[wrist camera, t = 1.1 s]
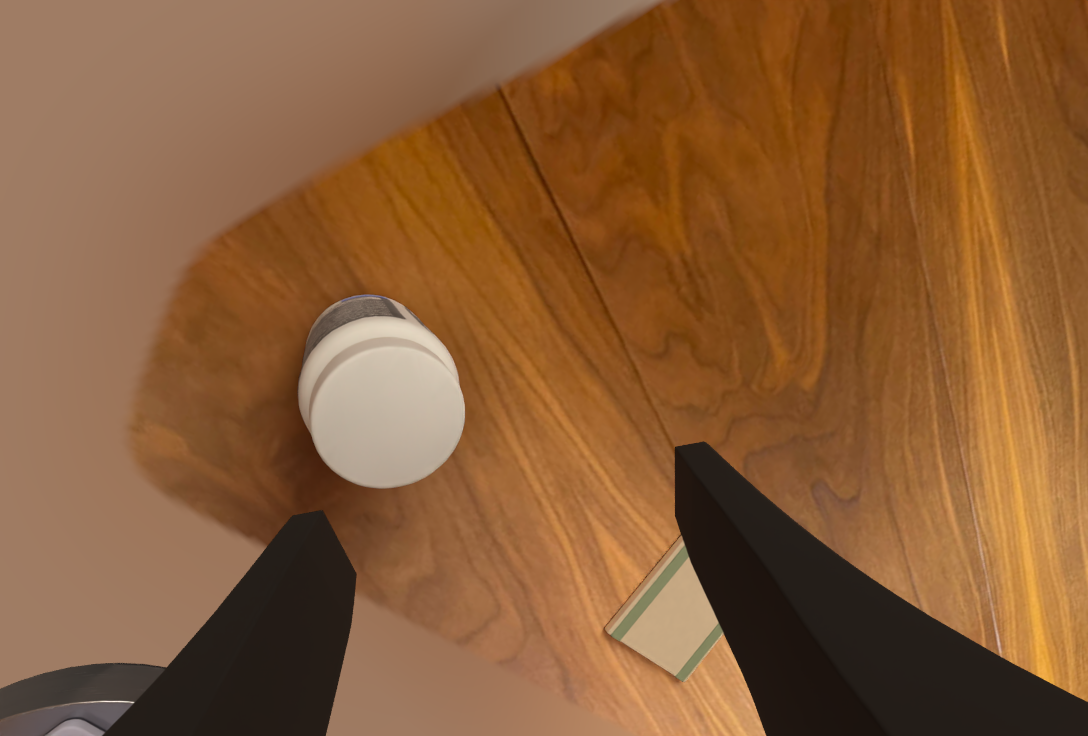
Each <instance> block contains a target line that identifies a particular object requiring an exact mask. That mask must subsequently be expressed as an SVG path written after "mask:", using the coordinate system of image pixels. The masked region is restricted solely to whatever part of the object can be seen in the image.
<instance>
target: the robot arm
mask: <svg viewBox="0 0 1088 736" xmlns="http://www.w3.org/2000/svg"><path fill="white" fill-rule="evenodd" d="M675 517H676V520H677V523H678V526H679V529H680V532H681V535H682V538H683V541H684V544H685V547H686V550H687V553H688V556H689V559H690V562H691V564H692V566H693V568H694V571H695V573H696V575H697V577H698V579H699V582H700V584H701V586H702V588H703V590H704V592H705V595H706V597H707V599H708V601H709V603H710V605H711V607H712V610H713V612H714V614H715V616H716V618H717V620H718V622H719V624H720V627H721V629H722V631H723V633H724V635H725V637H726V639H727V642H728V644H729V646H730V648H731V650H732V652H733V654H734V657H735V659H736V661H737V663H738V665H739V667H740V669H741V672H742V674H743V676H744V679H745V681H746V683H747V686H748V688H749V691H750V693H751V695H752V698H753V701H754V703H755V706H756V709H757V712H758V714H759V717H760V720H761V722H762V725H763V728H764V731H765V733H766V736H1088V702H1086V701H1084V700H1082V699H1080V698H1078V697H1076V696H1074V695H1072V694H1070V693H1068V692H1066V691H1064V690H1062V689H1061V688H1059V687H1057V686H1055V685H1053V684H1051V683H1049V682H1047V681H1045V680H1043V679H1041V678H1040V677H1038V676H1036V675H1034V674H1032V673H1030V672H1028V671H1026V670H1024V669H1022V668H1020V667H1018V666H1017V665H1015V664H1013V663H1011V662H1009V661H1007V660H1005V659H1004V658H1002V657H1000V656H998V655H996V654H995V653H993V652H991V651H990V650H988V649H986V648H984V647H983V646H981V645H979V644H977V643H976V642H974V641H972V640H970V639H969V638H967V637H965V636H964V635H962V634H960V633H958V632H957V631H955V630H953V629H951V628H950V627H948V626H946V625H944V624H943V623H941V622H939V621H938V620H936V619H934V618H932V617H931V616H929V615H927V614H926V613H924V612H923V611H921V610H919V609H918V608H916V607H915V606H913V605H912V604H910V603H908V602H907V601H905V600H904V599H902V598H900V597H899V596H897V595H896V594H894V593H893V592H891V591H890V590H888V589H887V588H885V587H884V586H882V585H881V584H879V583H878V582H876V581H875V580H873V579H872V578H870V577H869V576H867V575H866V574H864V573H863V572H862V571H860V570H859V569H857V568H856V567H855V566H853V565H852V564H850V563H849V562H848V561H846V560H845V559H843V558H842V557H841V556H839V555H838V554H837V553H835V552H834V551H833V550H831V549H830V548H829V547H827V546H826V545H825V544H823V543H822V542H821V541H819V540H818V539H817V538H816V537H814V536H813V535H812V534H810V533H809V532H808V531H807V530H805V529H804V528H803V527H802V526H800V525H799V524H798V523H797V522H795V521H794V520H793V519H792V518H790V517H789V516H788V515H787V514H786V513H784V512H783V511H782V510H781V509H780V508H779V507H777V506H776V505H775V504H774V503H773V502H771V501H770V500H769V499H768V498H767V497H765V496H764V495H763V494H762V493H761V492H760V491H759V490H757V489H756V488H755V487H754V486H753V485H752V484H751V483H750V482H748V481H747V480H746V479H745V478H744V477H743V476H742V475H741V474H740V473H739V472H737V471H736V470H735V469H734V468H733V467H732V466H731V465H730V464H729V463H728V462H727V461H726V460H725V459H723V458H722V457H721V456H720V455H719V454H718V453H717V452H716V451H715V450H714V449H713V448H712V447H711V446H710V445H709V444H707V443H706V442H699V443H694V444H688V445H682V446H677V447H675ZM356 575H357V574H356V572H355V570H354V568H353V566H352V564H351V562H350V560H349V559H348V557H347V555H346V553H345V551H344V549H343V547H342V545H341V544H340V542H339V540H338V538H337V536H336V534H335V532H334V531H333V529H332V527H331V525H330V523H329V521H328V519H327V517H326V516H325V514H324V512H323V510H320V511H315V512H309V513H304V514H298V515H293V516H292V517H291V518H290V519H289V520H288V522H287V523H286V524H285V525H284V526H283V528H282V529H281V530H280V531H279V533H278V534H277V535H276V536H275V538H274V539H273V540H272V541H271V543H270V544H269V545H268V546H267V548H266V549H265V550H264V551H263V553H262V554H261V555H260V557H259V558H258V559H257V560H256V562H255V563H254V564H253V565H252V567H251V568H250V570H249V571H248V572H247V573H246V575H245V576H244V577H243V578H242V579H241V581H240V582H239V583H238V584H237V585H236V587H235V588H234V589H233V590H232V591H231V593H230V594H229V595H228V596H227V598H226V599H225V600H224V601H223V603H222V604H221V605H220V606H219V608H218V609H217V610H216V611H215V612H214V614H213V615H212V616H211V617H210V618H209V620H208V621H207V622H206V623H205V624H204V625H203V627H202V628H201V629H200V630H199V631H198V632H197V633H196V635H195V636H194V637H193V638H192V639H191V640H190V641H189V643H188V644H187V645H186V646H185V648H183V649H182V651H181V652H180V653H179V654H178V655H177V656H176V658H175V659H174V660H173V661H172V662H171V663H170V664H169V666H168V667H167V668H166V669H165V670H164V671H163V672H162V673H161V675H160V676H159V677H158V678H157V679H156V680H155V681H154V682H153V683H152V684H151V685H150V687H149V688H148V689H147V690H146V691H145V692H144V693H143V694H142V695H141V696H140V697H139V698H138V699H137V700H136V701H135V702H134V703H133V705H132V706H131V707H130V708H129V709H128V710H127V711H126V712H125V713H124V714H123V715H122V716H121V717H120V718H119V719H118V720H117V721H116V722H115V723H114V724H113V725H112V726H111V727H110V728H109V729H108V730H107V731H106V732H103V731H102V730H100V729H98V728H96V727H94V726H93V725H91V724H89V723H87V722H86V721H83V720H80V719H72V720H68V721H65V722H63V723H61V724H60V725H58V726H57V727H56V728H54V729H53V730H52V731H50V732H49V733H48V734H46V735H45V736H326V732H327V728H328V724H329V719H330V715H331V711H332V707H333V702H334V698H335V694H336V690H337V685H338V681H339V677H340V672H341V668H342V664H343V660H344V655H345V650H346V646H347V642H348V638H349V633H350V628H351V623H352V614H353V606H354V597H355V586H356Z"/></svg>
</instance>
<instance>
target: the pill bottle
mask: <svg viewBox="0 0 1088 736" xmlns="http://www.w3.org/2000/svg"><path fill="white" fill-rule="evenodd" d="M298 400H299V409H300V412H301V415H302V418H303V420H304V422H305V424H306V426H307V428H308V430H309V432H310V433H311V435H312V439H313V442H314V445H315V448H316V450H317V452H318V453H319V455H320V457H321V458H322V460H323V461H324V462H325V463H326V464H327V465H328V466H329V467H330V468H331V469H332V470H333V471H334V472H335V473H337V474H338V475H339V476H341V477H342V478H344V479H346V480H348V481H350V482H352V483H355V484H357V485H360V486H364V487H370V488H380V489H384V488H395V487H401V486H405V485H408V484H412V483H415V482H417V481H419V480H421V479H423V478H425V477H427V476H428V475H430V474H431V473H433V472H434V471H435V470H436V469H437V468H439V467H440V466H441V465H442V464H443V463H444V462H445V461H446V460H447V459H448V457H449V456H450V455H451V454H452V452H453V451H454V449H455V447H456V446H457V444H458V442H459V439H460V437H461V434H462V431H463V427H464V421H465V404H464V399H463V394H462V391H461V389H460V386H459V377H458V372H457V369H456V366H455V364H454V361H453V359H452V357H451V355H450V353H449V352H448V350H447V348H446V347H445V346H444V345H443V343H442V342H441V341H440V340H439V339H438V338H437V337H436V336H435V335H434V334H433V333H432V332H431V331H430V330H429V329H428V328H427V327H426V326H425V325H424V324H423V323H422V322H421V321H420V320H419V319H418V318H417V317H416V316H415V315H414V314H413V313H412V312H411V311H410V310H409V309H407V308H406V307H405V306H403V305H402V304H400V303H398V302H396V301H394V300H392V299H389V298H386V297H382V296H378V295H358V296H352V297H349V298H346V299H343V300H341V301H339V302H336V303H335V304H333V305H331V306H330V307H329V308H327V309H326V310H325V311H324V312H323V313H322V314H321V315H320V316H319V317H318V318H317V320H316V321H315V323H314V324H313V326H312V328H311V330H310V333H309V336H308V338H307V341H306V347H305V352H304V356H303V363H302V369H301V372H300V376H299V383H298Z"/></svg>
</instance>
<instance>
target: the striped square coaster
mask: <svg viewBox="0 0 1088 736" xmlns="http://www.w3.org/2000/svg"><path fill="white" fill-rule="evenodd" d="M605 630H606V632H607V633H608V634H610V635H611V636H612V637H613V638H615V639H616V640H618V641H621V642H622V643H624V644H625V645H627V646H629V647H630V648H632V649H633V650H635V651H636V652H638V653H640V654H641V655H643V656H644V657H646V658H647V659H649V660H651V661H652V662H654V663H655V664H657V665H658V666H660V667H662V668H663V669H665V670H666V671H668V672H669V673H671V674H672V675H674V676H675V677H676V678H678V679H679V680H681V681H682V682H686V680H687V679H688V678H689V677H690V675H691V674H692V673H693V672H694V670H695V669H696V668H697V667H698V665H699V664H700V663H701V662H702V660H703V659H704V658H705V657H706V655H707V654H708V653H709V652H710V651H711V649H712V648H713V647H714V646H715V644H716V643H717V642H718V641H719V639H720V638H721V637H722V636H723V634H724V633H723V631H722V629H721V627H720V624H719V622H718V620H717V618H716V616H715V614H714V612H713V610H712V607H711V605H710V603H709V601H708V599H707V597H706V595H705V592H704V590H703V588H702V586H701V584H700V582H699V579H698V577H697V575H696V573H695V571H694V568H693V566H692V564H691V562H690V559H689V556H688V553H687V550H686V547H685V544H684V541H683V538H682V535H681V536H680V537H679V538H678V540H677V541H676V542H675V543H674V544H673V546H672V547H671V548H670V549H669V550H668V552H667V553H666V554H665V555H664V557H663V558H662V559H661V560H660V561H659V563H658V564H657V565H656V566H655V567H654V569H653V570H652V571H651V572H650V574H649V575H648V576H647V577H646V578H645V580H644V581H643V582H642V583H641V584H640V586H639V587H638V588H637V589H636V591H635V592H634V593H633V594H632V595H631V597H630V598H629V599H628V600H627V601H626V603H625V604H624V605H623V606H622V608H621V609H620V610H619V611H618V612H617V614H616V615H615V616H614V617H613V618H612V620H611V621H610V622H609V623H608V625H607V626H606V627H605Z"/></svg>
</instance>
